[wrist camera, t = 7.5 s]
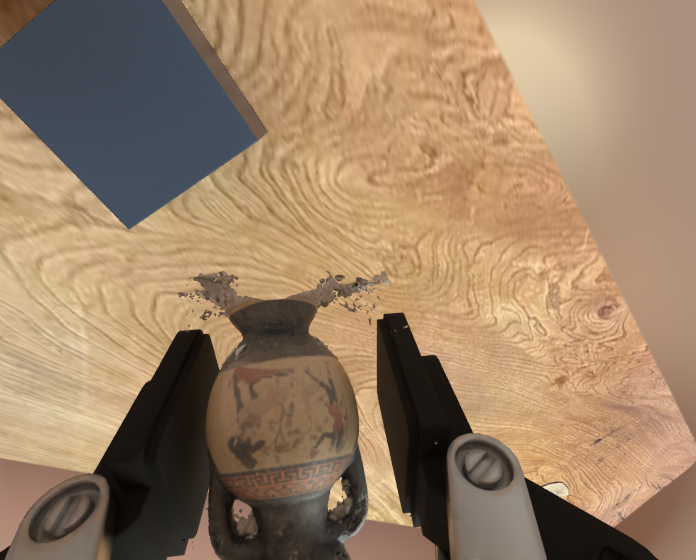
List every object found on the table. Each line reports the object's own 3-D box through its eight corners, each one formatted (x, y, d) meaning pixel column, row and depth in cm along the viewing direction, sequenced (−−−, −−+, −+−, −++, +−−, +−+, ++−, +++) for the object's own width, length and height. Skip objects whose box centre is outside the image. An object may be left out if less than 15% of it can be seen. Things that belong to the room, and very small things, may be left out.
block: (45, 76, 20) (-28, 70, 16) (165, -24, 19) (121, -60, 15) (161, 205, 24) (128, 229, 20) (268, 132, 23) (258, 140, 18)
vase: (376, 408, 12) (412, 646, 7) (216, 408, 12) (130, 660, 7) (395, 270, 10) (474, 485, 5) (193, 264, 9) (25, 490, 4)
